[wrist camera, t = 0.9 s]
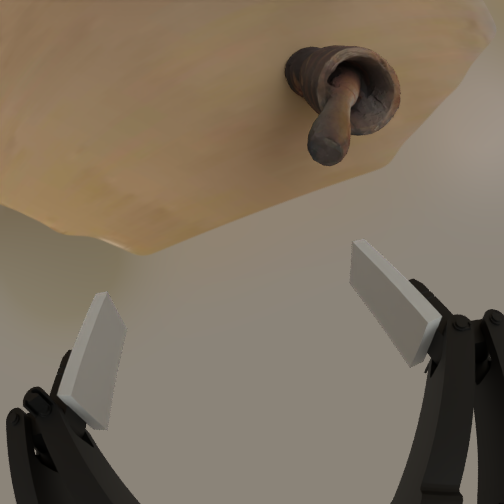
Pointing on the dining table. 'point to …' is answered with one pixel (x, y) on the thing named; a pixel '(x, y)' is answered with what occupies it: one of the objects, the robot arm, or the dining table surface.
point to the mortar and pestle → (343, 95)
